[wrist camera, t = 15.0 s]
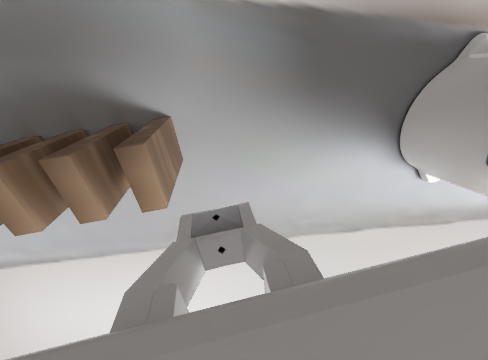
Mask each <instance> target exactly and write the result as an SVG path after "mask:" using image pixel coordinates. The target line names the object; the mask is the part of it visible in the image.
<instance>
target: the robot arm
mask: <svg viewBox="0 0 488 360" xmlns="http://www.w3.org/2000/svg"><path fill="white" fill-rule="evenodd" d="M400 149H401V153H402V155H403V157H404V159H405V160H406V162H408V163H409V164H410V165H412V166H413V167H415V168H416V169H417V170H418V171H419V174H420V177H421V178H422V180H424V181H427V182H429V183H433V182H437V181H439V180H443V181H446V182H449V183H452V184H455V185H457V186H460V187H463V188H466V189H468V190H471V191H474V192H477V193H480V194H483V195H485V196H488V33H481V34H478V35H477V36H475V37H474V38H473V39H472V40H471V41H470V42H469V44H468V45H467V46H466V47H465V48H464V50H463V51H462V52H461V54H460V55H459V56H458V57H457V59H456V60H455V61H454V62H453V63H452V64H451V65H449V66H448V67H447V68H446V69H444V70H443V71H442V72H440V73H439V74H438V75H437V76H436V77H434V78H433V79H432V80H431V81H430V82H429V83H428V84H427V85H426V87H425V88H424V89H423V90H422V91H421V93H420V94H419V95H418V96H417V98H416V99H415V101H414V102H413V104H412V106H411V107H410V109H409V111H408V113H407V115H406V118H405V120H404V123H403V126H402V130H401V135H400ZM240 262H246V263H247V264H248V265H249V266H250V267H251V268H252V269H253V270H254V271H255V272H256V273H257V274H258V275H259V276H260V277H261V278H262V279H263V280H264V284H265V294H262V295H258V296H254V297H250V298H246V299H242V300H238V301H234V302H230V303H227V304H222V305H219V306H215V307H211V308H207V309H203V310H199V311H195V312H192V313H189V312H188V309H187V306H188V304H189V302H190V300H191V298H192V296H193V295H194V292H195V291H196V289H197V287H198V285H199V283H200V281H201V279H202V277H203V276H204V274H205V271H206V270H210V269H214V268H218V267H222V266H226V265H230V264H235V263H240ZM6 360H488V237H487V238H482V239H479V240H474V241H470V242H466V243H463V244H459V245H455V246H451V247H447V248H443V249H439V250H435V251H431V252H427V253H423V254H420V255H415V256H411V257H407V258H403V259H400V260H396V261H392V262H388V263H384V264H380V265H376V266H372V267H368V268H364V269H360V270H357V271H352V272H348V273H344V274H341V275H337V276H333V277H329V278H325V279H324V278H323V276H322V274H321V273H320V271H319V269H318V268H317V266H316V264H315V263H314V261H313V259H312V258H311V256H310V254H309V253H308V251H307V250H305V249H304V248H302V247H300V246H298V245H297V244H295V243H293V242H291V241H290V240H288V239H286V238H284V237H283V236H281V235H279V234H277V233H276V232H274V231H272V230H270V229H269V228H267V227H265V226H263V225H262V224H257V223H256V220H255V218H254V215H253V212H252V210H251V207H250V204H249V203H248V202H246V203H242V204H237V205H234V206H229V207H225V208H220V209H214V210H208V211H203V212H197V213H192V214H187V215H182V216H181V218H180V224H179V229H178V235H177V241H176V242H173V243H172V244H171V245H170V246H169V247H168V248H167V249H166V250H165V251H164V252H163V253H162V254H161V256H160V257H159V258H158V259H157V260H156V261H155V262H154V263H153V264H152V265H151V266H150V267H149V268H148V269H147V270H146V271H145V272H144V273H143V274H142V275H141V276H140V278H139V279H138V280H137V281H136V282H135V283H134V284H133V285H132V286H131V287H130V288H129V289H128V290H127V291H126V292H125V294H124V296H123V299H122V302H121V304H120V307H119V310H118V312H117V315H116V318H115V320H114V323H113V326H112V328H111V331H110V333H109V334H105V335H101V336H97V337H93V338H89V339H85V340H81V341H77V342H73V343H69V344H65V345H61V346H58V347H54V348H49V349H46V350H42V351H38V352H34V353H30V354H26V355H22V356H18V357H14V358H10V359H6Z"/></svg>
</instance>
